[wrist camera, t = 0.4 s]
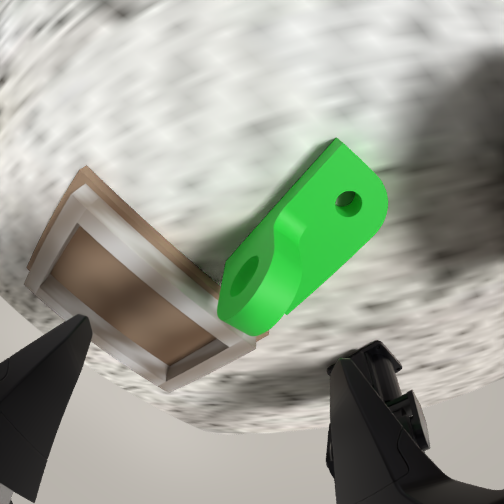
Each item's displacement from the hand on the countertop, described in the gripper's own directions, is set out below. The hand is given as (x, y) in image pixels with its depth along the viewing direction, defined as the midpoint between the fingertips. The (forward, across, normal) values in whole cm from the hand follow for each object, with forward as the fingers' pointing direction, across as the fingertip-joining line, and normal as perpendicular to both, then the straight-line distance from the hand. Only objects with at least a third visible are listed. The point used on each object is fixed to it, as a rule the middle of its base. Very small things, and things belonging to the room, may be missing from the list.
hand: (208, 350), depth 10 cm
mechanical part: (+13, -5, +1) cm, 14 cm away
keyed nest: (+13, +8, +9) cm, 18 cm away
